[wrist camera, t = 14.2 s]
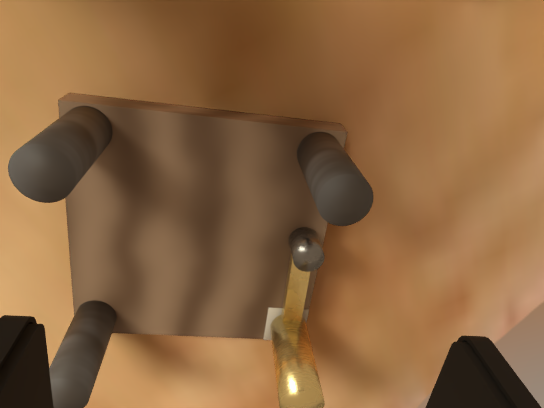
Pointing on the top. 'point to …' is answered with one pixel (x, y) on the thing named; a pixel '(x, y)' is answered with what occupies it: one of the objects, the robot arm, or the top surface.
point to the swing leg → (297, 328)
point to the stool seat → (180, 218)
